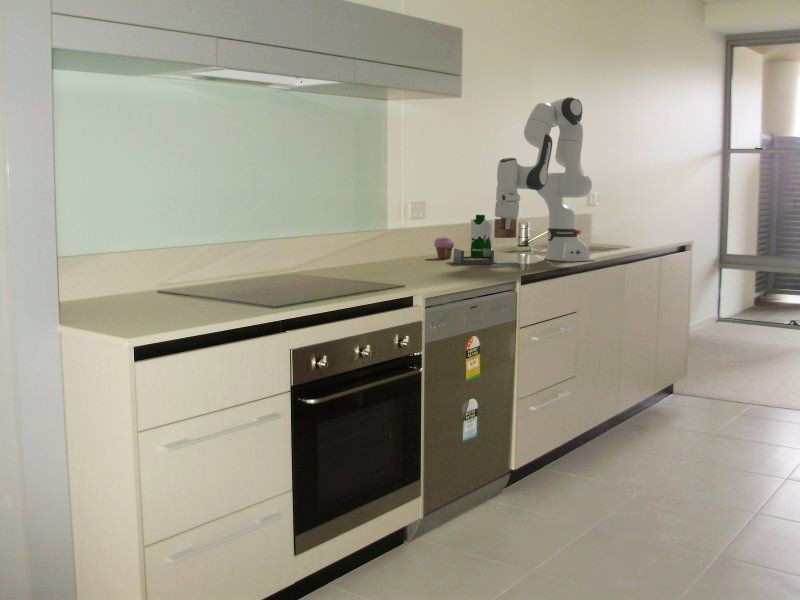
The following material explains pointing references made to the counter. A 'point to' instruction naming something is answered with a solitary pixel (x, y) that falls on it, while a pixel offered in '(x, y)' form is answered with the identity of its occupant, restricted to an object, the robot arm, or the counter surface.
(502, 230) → the brown flat block
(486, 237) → the milk carton
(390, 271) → the counter surface
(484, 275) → the counter surface
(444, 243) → the cupcake
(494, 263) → the grey mat
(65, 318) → the counter surface
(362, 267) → the counter surface
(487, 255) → the rack
